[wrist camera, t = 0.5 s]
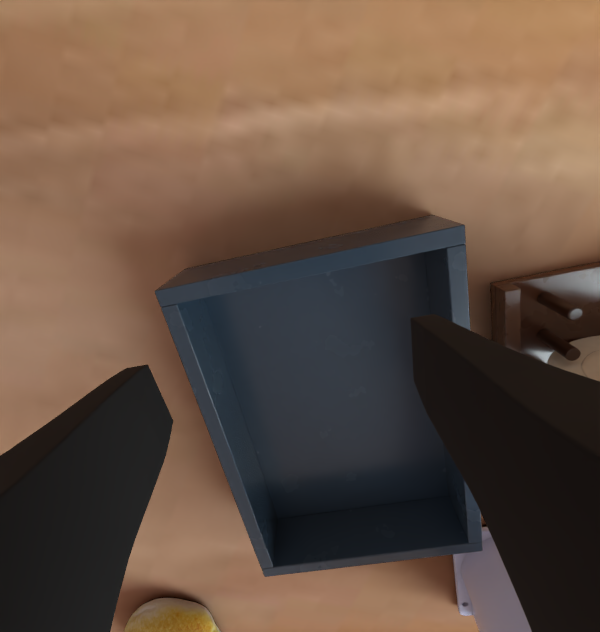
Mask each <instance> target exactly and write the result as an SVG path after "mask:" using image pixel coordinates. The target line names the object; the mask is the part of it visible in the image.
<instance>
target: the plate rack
mask: <svg viewBox="0 0 600 632" xmlns="http://www.w3.org/2000/svg"><path fill="white" fill-rule="evenodd" d="M491 311H492V341H494V342H496V343H498V344H500V345H503V346H505V347H507V348H510V349H512V350H514V351H517V352H519V353H522V354H524V355H527V356H529V357H532V358H534V359H537V360H539V361H542V362H544V363H547V361H548V359H549V357H550V355H551V354H552V353H553V352H554V351H556V352H557V353H559V354H560V355H561V356H563V357H564V358H566V359H567V360H569V361H574V360H577V359H578V358H579V357H580V355H581V352H580V350H579V349H577V348H576V347H574V346H573V345H571V344H570V343H569V342H571V341H575V340H578V339H582V338H586V337H592V336H599V335H600V262H596V263H591V264H586V265H581V266H576V267H571V268H566V269H560V270H555V271H550V272H545V273H540V274H535V275H530V276H525V277H520V278H514V279H509V280H504V281H499V282H494V283H491Z"/></svg>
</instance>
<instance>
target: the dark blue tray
mask: <svg viewBox="0 0 600 632" xmlns="http://www.w3.org/2000/svg"><path fill="white" fill-rule="evenodd" d="M465 243H466V241H465V225H463V224H460V223H457V222H454V221H451V220H448V219H444V218H441V217H438V216H435V215H429V216H425V217H420V218H416V219H411V220H406V221H402V222H397V223H393V224H388V225H384V226H379V227H374V228H370V229H365V230H361V231H356V232H352V233H347V234H342V235H338V236H333V237H329V238H324V239H320V240H315V241H310V242H306V243H301V244H297V245H292V246H288V247H283V248H278V249H274V250H269V251H265V252H260V253H256V254H251V255H247V256H242V257H237V258H233V259H228V260H224V261H219V262H215V263H210V264H205V265H201V266H196V267H192V268H187V269H184V270H183V271H182V272H180V273H179V274H177V275H176V276H175V277H173V278H172V279H170V280H169V281H168V282H166V283H165V284H164V285H162V286H161V287H160V288H158V289H157V290H156V291H155V294H156V296H157V299H158V302H159V304H160V307H161V309H162V312H163V314H164V317H165V320H166V322H167V325H168V327H169V330H170V333H171V335H172V338H173V340H174V343H175V346H176V348H177V351H178V353H179V356H180V359H181V361H182V364H183V366H184V369H185V371H186V374H187V377H188V379H189V382H190V384H191V387H192V390H193V392H194V395H195V397H196V400H197V403H198V405H199V408H200V410H201V413H202V416H203V418H204V421H205V423H206V426H207V429H208V431H209V434H210V436H211V439H212V442H213V444H214V447H215V449H216V452H217V455H218V457H219V460H220V462H221V465H222V468H223V470H224V473H225V475H226V478H227V481H228V483H229V486H230V488H231V491H232V494H233V496H234V499H235V501H236V504H237V507H238V509H239V512H240V514H241V517H242V520H243V522H244V525H245V527H246V530H247V533H248V535H249V538H250V540H251V543H252V546H253V548H254V551H255V553H256V556H257V559H258V561H259V564H260V566H261V568H262V571H263V574H264V576H265V577H267V576H276V575H284V574H293V573H301V572H309V571H318V570H326V569H335V568H343V567H352V566H360V565H369V564H377V563H386V562H394V561H403V560H411V559H419V558H428V557H436V556H445V555H453V554H462V553H470V552H479V551H482V550H483V548H482V528H481V511H480V509H479V507H478V505H477V503H476V501H475V499H474V497H473V495H472V493H471V491H470V489H469V487H468V486H467V484H466V482H465V480H464V479H463V477H462V475H461V473H460V472H459V470H458V468H457V466H456V464H455V463H454V461H453V459H452V457H451V456H450V454H449V452H448V450H447V449H446V447H445V445H444V443H443V441H442V440H441V438H440V436H439V434H438V433H437V431H436V429H435V427H434V425H433V424H432V422H431V420H430V418H429V416H428V414H427V413H426V410H425V408H424V405H423V403H422V401H421V398H420V396H419V393H418V390H417V388H416V385H415V383H414V378H413V358H412V338H411V318H414V317H420V316H425V315H431V314H435V315H438V316H440V317H443V318H445V319H447V320H449V321H451V322H453V323H456V324H458V325H460V326H462V327H464V328H466V329H468V330H470V314H469V297H468V279H467V261H466V245H465Z"/></svg>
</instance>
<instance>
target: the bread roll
mask: <svg viewBox="0 0 600 632" xmlns="http://www.w3.org/2000/svg"><path fill="white" fill-rule="evenodd" d="M124 632H220V630H219V628H218V627H217V625H216V624H215V623H214V620H213V617H212V615H211V614H210V612H209V611H208V610H207V609H206V608H205V607H204V606H203V605H200V604H198V603H196V602H191V601H187V600H183V599H177V598H160V599H154V600H152V601H150V602H147V603H145V604H143V605H142V606H140V607H139V608H138V609H137V610H136V611H135V612H134V613H133V614H132V616H131V617H130V619H129V620H128V622H127V624H126V627H125V629H124Z"/></svg>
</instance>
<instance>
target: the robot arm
mask: <svg viewBox="0 0 600 632" xmlns="http://www.w3.org/2000/svg"><path fill="white" fill-rule="evenodd" d="M411 338H412V358H413V378H414V383H415V385H416V388H417V390H418V393H419V396H420V398H421V401H422V403H423V405H424V408H425V410H426V413H427V414H428V416H429V418H430V420H431V422H432V424H433V425H434V427H435V429H436V431H437V433H438V434H439V436H440V438H441V440H442V441H443V443H444V445H445V447H446V449H447V450H448V452H449V454H450V456H451V457H452V459H453V461H454V463H455V464H456V466H457V468H458V470H459V472H460V473H461V475H462V477H463V479H464V480H465V482H466V484H467V486H468V487H469V489H470V491H471V493H472V495H473V497H474V499H475V501H476V503H477V505H478V507H479V509H480V511H481V514H482V516H483V518H484V520H485V523H486V525H487V527H481V528H482V548H483V550H482V551H479V552H470V553H462V554H453V564H454V574H455V584H456V594H457V604H458V610H459V613H460V614H461V615H464V616H467V615H474V618H475V621H476V624H477V626H478V629H479V632H600V381H597V380H594V379H591V378H588V377H585V376H582V375H579V374H575V373H572V372H569V371H566V370H563V369H561V368H558V367H555V366H552V365H549V364H547V363H544V362H542V361H539V360H537V359H534V358H532V357H529V356H527V355H524V354H522V353H519V352H517V351H514V350H512V349H510V348H507V347H505V346H503V345H500V344H498V343H496V342H494V341H492V340H489V339H487V338H485V337H483V336H481V335H479V334H477V333H474V332H472V331H470V330H468V329H466V328H464V327H462V326H460V325H458V324H456V323H453V322H451V321H449V320H447V319H445V318H443V317H440V316H438V315H435V314H431V315H425V316H420V317H414V318H411ZM172 424H173V419H172V417H171V415H170V413H169V410H168V408H167V406H166V404H165V402H164V399H163V397H162V395H161V393H160V391H159V388H158V386H157V384H156V382H155V380H154V377H153V375H152V373H151V371H150V369H149V366H148V365H142V366H137V367H131V368H126V369H124V370H123V371H121V372H119V373H117V374H116V375H114V376H113V377H111V378H110V379H108V380H107V381H105V382H104V383H103V384H101V385H100V386H98V387H97V388H96V389H94V390H93V391H91V392H90V393H89V394H87V395H86V396H85V397H83V398H82V399H80V400H79V401H78V402H76V403H75V404H74V405H72V406H71V407H70V408H68V409H67V410H65V411H64V412H63V413H61V414H60V415H59V416H57V417H56V418H55V419H53V420H52V421H50V422H49V423H47V424H46V425H45V426H43V427H42V428H40V429H39V430H37V431H36V432H34V433H33V434H32V435H30V436H29V437H27V438H26V439H24V440H23V441H22V442H20V443H19V444H17V445H16V446H14V447H13V448H11V449H10V450H8V451H7V452H5V453H4V454H2V455H1V456H0V632H110V630H111V626H112V621H113V617H114V613H115V609H116V605H117V601H118V597H119V593H120V589H121V586H122V582H123V578H124V574H125V571H126V567H127V563H128V559H129V556H130V553H131V550H132V547H133V544H134V541H135V538H136V535H137V533H138V530H139V527H140V524H141V522H142V519H143V516H144V514H145V511H146V508H147V506H148V503H149V500H150V498H151V495H152V492H153V490H154V487H155V484H156V481H157V479H158V476H159V473H160V470H161V467H162V465H163V462H164V459H165V456H166V452H167V448H168V444H169V440H170V434H171V429H172Z"/></svg>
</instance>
